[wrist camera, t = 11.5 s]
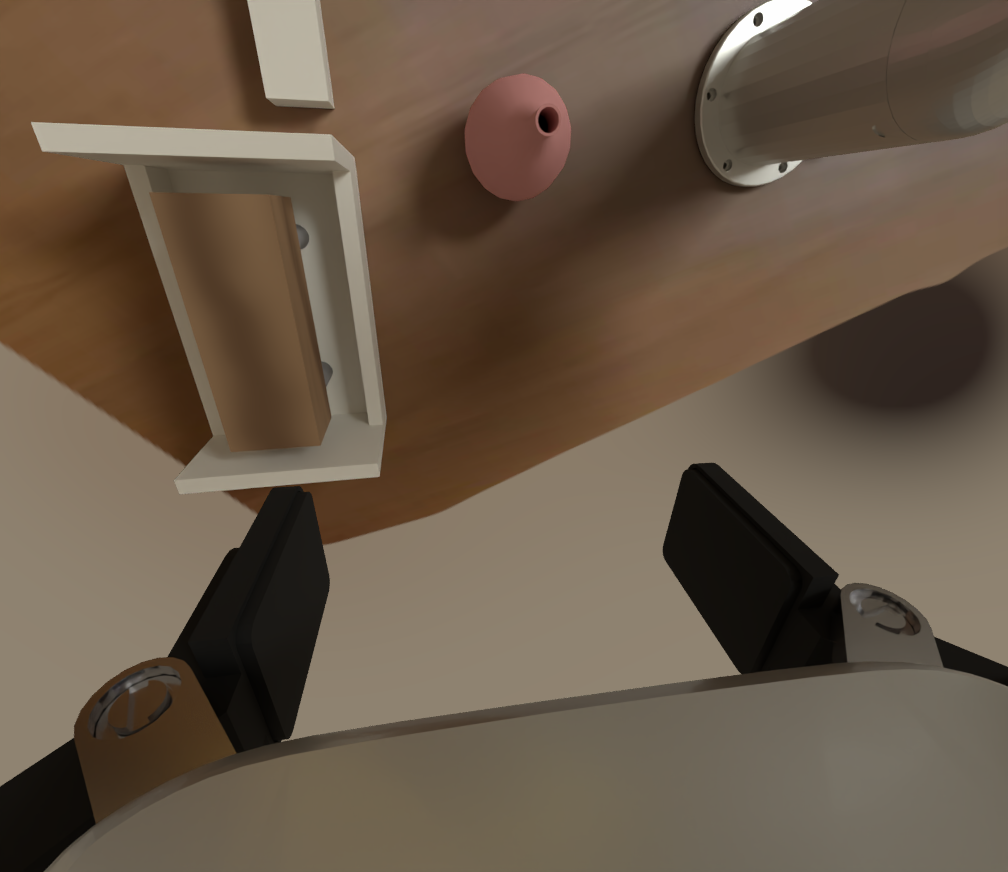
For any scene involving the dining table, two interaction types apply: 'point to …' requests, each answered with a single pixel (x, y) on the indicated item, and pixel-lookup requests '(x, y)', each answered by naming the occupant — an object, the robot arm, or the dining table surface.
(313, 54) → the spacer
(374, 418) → the stand
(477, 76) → the dining table surface
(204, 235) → the brown wooden block
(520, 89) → the pink vase
